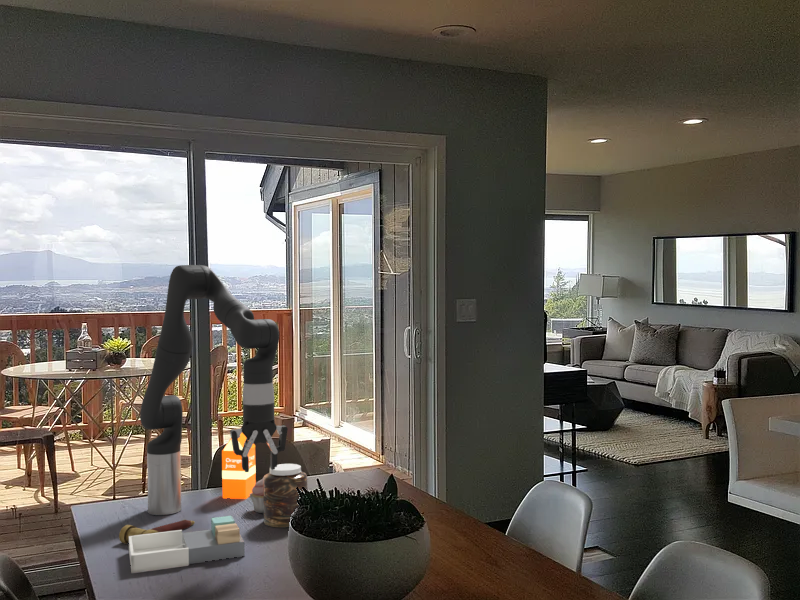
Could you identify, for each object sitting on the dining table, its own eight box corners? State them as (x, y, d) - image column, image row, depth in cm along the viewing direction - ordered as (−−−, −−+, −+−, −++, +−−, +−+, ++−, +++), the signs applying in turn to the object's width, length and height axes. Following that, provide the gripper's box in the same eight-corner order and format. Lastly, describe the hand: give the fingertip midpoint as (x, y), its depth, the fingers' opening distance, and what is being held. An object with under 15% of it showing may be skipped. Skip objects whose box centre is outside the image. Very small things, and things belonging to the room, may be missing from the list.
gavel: (181, 511, 211) (207, 516, 206) (180, 528, 211) (207, 533, 206) (118, 526, 193) (146, 532, 188) (118, 545, 193) (145, 551, 188)
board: (182, 546, 190) (182, 532, 190) (235, 540, 195) (235, 526, 195) (188, 564, 178) (188, 549, 178) (244, 556, 183) (244, 541, 183)
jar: (290, 512, 218) (290, 460, 218) (316, 521, 210) (315, 466, 210) (255, 521, 210) (255, 467, 210) (280, 531, 202) (280, 474, 202)
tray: (128, 552, 186) (128, 536, 186) (182, 545, 191) (181, 529, 191) (131, 573, 172) (131, 555, 172) (188, 565, 177) (188, 548, 177)
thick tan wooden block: (215, 538, 186) (215, 525, 185) (236, 535, 187) (236, 523, 187) (218, 544, 181) (218, 531, 181) (239, 541, 183) (239, 529, 183)
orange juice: (222, 498, 235) (221, 433, 234) (233, 490, 243) (232, 428, 243) (246, 499, 233) (245, 433, 233) (256, 491, 242) (255, 428, 242)
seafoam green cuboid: (211, 529, 192) (211, 518, 192) (231, 527, 194) (231, 515, 194) (214, 535, 187) (214, 523, 187) (234, 533, 189) (234, 521, 189)
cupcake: (265, 504, 228) (265, 470, 228) (288, 509, 222) (288, 474, 222) (242, 511, 220) (241, 476, 220) (265, 517, 215) (264, 481, 215)
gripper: (284, 397, 193) (285, 464, 193) (226, 401, 187) (227, 469, 188) (291, 401, 186) (292, 470, 186) (231, 405, 180) (232, 476, 181)
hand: (259, 470), depth 187 cm, fingers open, 5 cm apart
